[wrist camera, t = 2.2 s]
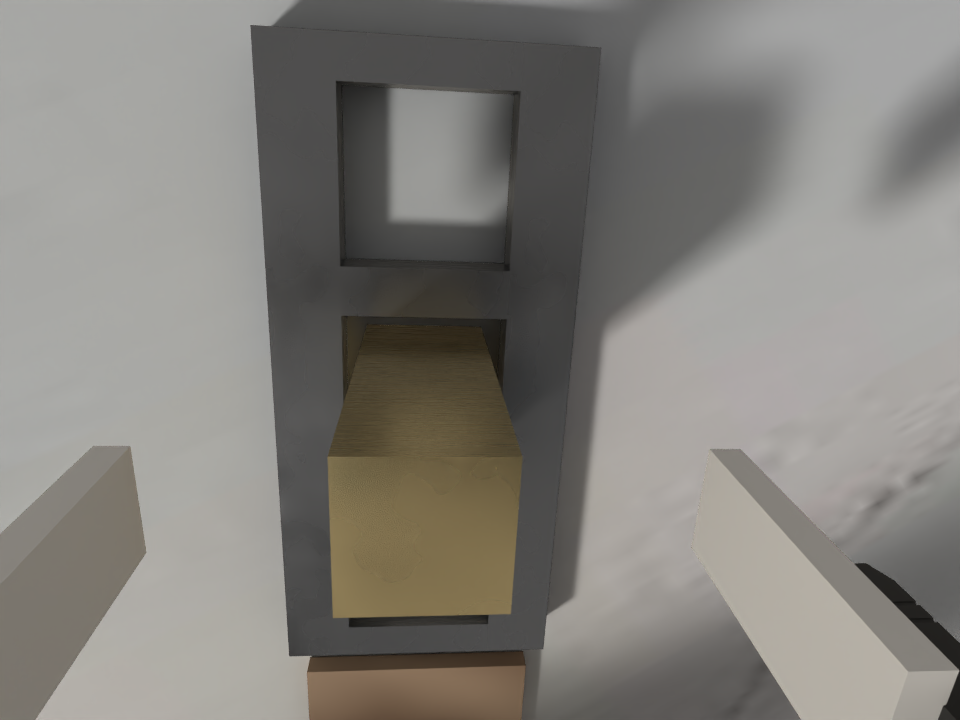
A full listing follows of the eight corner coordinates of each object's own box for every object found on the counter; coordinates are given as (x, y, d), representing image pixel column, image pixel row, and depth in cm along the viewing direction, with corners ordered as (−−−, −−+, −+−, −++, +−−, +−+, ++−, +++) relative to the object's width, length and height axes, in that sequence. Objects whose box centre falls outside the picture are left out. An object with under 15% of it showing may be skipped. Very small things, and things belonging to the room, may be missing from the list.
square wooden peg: (476, 429, 24) (510, 613, 15) (368, 428, 24) (332, 618, 14) (480, 326, 23) (522, 457, 13) (367, 324, 22) (327, 456, 13)
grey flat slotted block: (537, 622, 27) (543, 649, 26) (296, 628, 26) (289, 656, 25) (588, 54, 20) (601, 47, 19) (263, 33, 19) (250, 25, 18)
